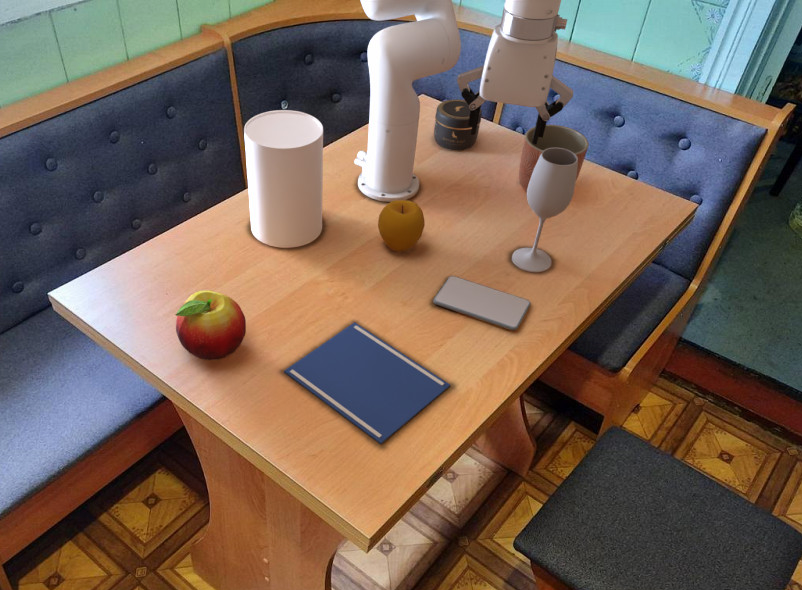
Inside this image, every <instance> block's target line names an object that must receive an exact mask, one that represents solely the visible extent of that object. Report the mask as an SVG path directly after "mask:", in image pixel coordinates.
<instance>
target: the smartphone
mask: <svg viewBox="0 0 802 590" xmlns="http://www.w3.org/2000/svg"><path fill="white" fill-rule="evenodd" d="M433 304H434V305H437V306H439V307H442V308H445V309H448V310H450V311H453V312H457V313H460V314H463V315H465V316H469V317H472V318H474V319H477V320H480V321H483V322H486V323H489V324H492V325H495V326H497V327H501V328H504V329H507V330H509V331H516V330H518V329H519V327H520V325H521V323H522V321H523V319H524V318H525V316H526V314H527V312H528V310H529V309H530V307H531V304H532V303H531V301H530V300H529V299H526V298H523V297H521V296H518V295H515V294H511V293H508V292H505V291H502V290H499V289H496V288H493V287H489V286H486V285H483V284H481V283H478V282H474V281H471V280H468V279H465V278H462V277H459V276H455V275H450V276H448V278H447V279H446V280H445V282H444V284H443V285H442V286H441V287H440V289H439V291H438V292H437V294H436V295H435V296H434V298H433Z"/></svg>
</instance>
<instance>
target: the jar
mask: <svg viewBox="0 0 802 590" xmlns="http://www.w3.org/2000/svg"><path fill="white" fill-rule="evenodd" d="M470 111H471V109H470V108H469V105H468V104H467V102H466V101H465V100H464V99H458V98H457V99H456V98H455V99H454V98H453V99H447V100H444V101H442V102H440V103H439V104H438V105H437V106H436V111H435V116H434V119H435V120H434V129H433V135H434V141H435V142H436V144H437V145H438V146H439V147H441V148H442V149H446V150H449V151H456V152H457V151H459V152H460V151H467V150H469V149H470V148H472V147H473V146H474V145H475V144H476V142H477V139H478V137H479V132H480V126H481V122H482V115H483V113H482V108H481V109H480V115H479V120H478V126H477V130H476V134H474V135H471V130H472V127H469V126H468V122H469V116H470Z"/></svg>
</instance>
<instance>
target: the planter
mask: <svg viewBox="0 0 802 590" xmlns="http://www.w3.org/2000/svg"><path fill="white" fill-rule="evenodd" d="M534 130H535V126H534V127H531V128H529V129H528V130H527V131H526V132H525V134H524V139H523V145H522V150H521V155H520V161H519V167H518V168H519V169H518V181H519V185H520V186H521V187H522V188H523V190H524V191H525V192H527V189H528V184H529V181H530V178H531V176H532V173H533V171H534V168H535V166H536V163H537V161H538V159H539V157H540V155H541V153H542V152H543V151H544V150H545V149H548V148H563V149H567V150H569V151H571V152H573V153H574V154H576V156H577V157H578V167H577V176H576V181H578V178H579V175H580V173H581V170H582V167H583V164H584V161H585V158H586V156H587V152H588V149H589V146H590V145H589V144H590V143H589V140H588V139H587V137H586V136H585V135H584V134H583V133H581V132H580V131H578V130H576V129H574V128H571V127H568V126H564V125H559V124H546V127H545V131H544V135H543V138H541V137H538V141H537V145H535V144H533V143H532V140H533V134H534Z"/></svg>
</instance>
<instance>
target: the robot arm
mask: <svg viewBox="0 0 802 590" xmlns="http://www.w3.org/2000/svg"><path fill="white" fill-rule="evenodd" d="M561 3H562V0H504V3H503V11H502V15H501V20H500V24H497V25H495V27H494V28H493V29H494V30H493V31H492V33H491V38H490V39H489V44H488V47H487V51H486V56H485V60H484V64H483V65H482V66H479V67H476V68H472V69H470V70H468V71H464V72H461V73H459V74H458V75H457V79H456V83H457V85H458V88H459V91H460V93H461V95H460V96H461V97H462V99H463V100H465V101H466V102H467V104H468V105H469V108H470V109H471V111H470V116H469V122H468V126H469V127H472V130H471V135H474V134H476V130H477V126H478V120H479V115H480V109H481V110H482V105H483V104H484V103H485V102H487V101H489V102H493V103H499V104H506V105H512V106H519V107H526V108H535V109H536V111H537V113H538V114H537V117H536V122H535V126H534V127H535V130H534V134H533V140H532V143H533V144H535V145H537V141H538V137H541V138H543V135H544V131H545V127H546V125H547V123H548V121H549V120H550V119H551V118H552V117H554V116H555V115H557V114H558V113H560V112H562V110H563V109H564V107H565V106H567V104H568V103H569V102H570V101H571V100H572V99H573V97H574V90H573V88H571V87H570V86H568V85H567V84H565V83H564V82H562V81H561V80H560V79H559V78H557V77H556V76H554V70H555V65H556V59H557V53H558V41H559V39H558V37H559V34H558V33H557V30H558V31H560V30H566V27H567V24H568V18H563V17H561V14H559V12H560V6H561ZM360 4H361V7H362V9H363V11H364V14H365V15H366V16H367V17H368V19H370V20H372V21H377V22H380V21H381V22H382V21H389V20H395V19H400V18H404V17H410V16H415V19H416V21H409V22H404V23H400V24H395V25H391V26H387V27H385V28H383V29H381V30H379V31H377V32H376V33H375V34H374V35H373V36H372V37H371V39H370V41H369V43H368V45H367V66H368V73H369V85H370V87H369V88H370V89H369V90H370V93H369V94H370V96H369V119H368V133H367V134H368V135H367V151H364V150H363V149H360V150H359V151H358V153H357V155H356V158H355V159H354V161H353V163H354V165H356V166H357V167H361V173H360V174H359V176H358V178H357V186H358V190H359V191H361V193H362V194H363V195H364V196H366V197H368V198H370V199H373V200H375V201H380V202H385V203H390V202H392V201H396V200H408V199H411V198H413V197H414V196H415V195H416V194H417V193H418V192H419V189H420V180H419V179H420V178H419V177H418V176H417V175H416V174H415V173H414V169H415V160H416V159H415V158H416V149H417V142H418V131H419V123H420V113H421V102H420V98H419V96H418V94H417V93H416V91H415V89H414V87H413V83H414V82H415V81H417V80H421V79H423V78H426V77H430V76H434V75H438V74H442V73H446V72H448V71H450V70H451V69H453V68H454V67H455V66H457V63H458V62H459V59H460V56H461V51H462V43H461V34H460V31H459V26H458V21H457V17H456V13H455V9H454V5H453V1H452V0H360ZM479 79H480V84H479V90H478V91H476V92H474V91H473V90H472V88H471V87H470V83H471V82H473V81H476V80H479ZM550 89H551V90H552V91H554V92H555V93H556V94H558V95H559V97H558V99H556V100H555V101H553V102H551V103H549V102H548V100H547V99H548V96H549V93H550Z"/></svg>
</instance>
